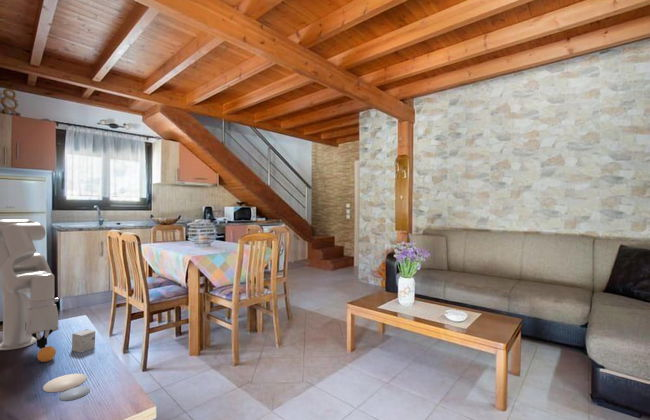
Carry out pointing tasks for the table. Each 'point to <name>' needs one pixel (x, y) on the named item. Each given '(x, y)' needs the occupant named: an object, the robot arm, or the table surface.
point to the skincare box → (83, 340)
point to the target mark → (64, 382)
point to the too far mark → (74, 393)
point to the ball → (46, 354)
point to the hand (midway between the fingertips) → (41, 347)
